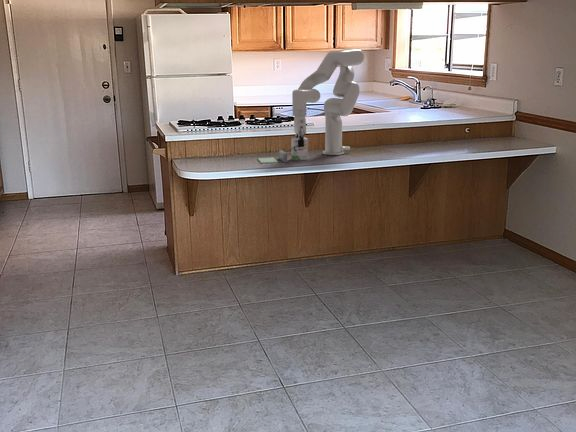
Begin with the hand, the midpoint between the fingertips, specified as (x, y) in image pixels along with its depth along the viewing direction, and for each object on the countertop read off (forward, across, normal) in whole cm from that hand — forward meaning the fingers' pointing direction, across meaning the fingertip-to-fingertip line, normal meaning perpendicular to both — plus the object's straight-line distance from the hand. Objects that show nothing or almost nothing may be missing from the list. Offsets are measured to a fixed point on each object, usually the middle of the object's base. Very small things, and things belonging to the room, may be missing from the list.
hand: (299, 145), depth 332 cm
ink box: (+8, 0, 0) cm, 8 cm away
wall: (+8, 0, +10) cm, 12 cm away
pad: (+8, 0, +18) cm, 20 cm away
